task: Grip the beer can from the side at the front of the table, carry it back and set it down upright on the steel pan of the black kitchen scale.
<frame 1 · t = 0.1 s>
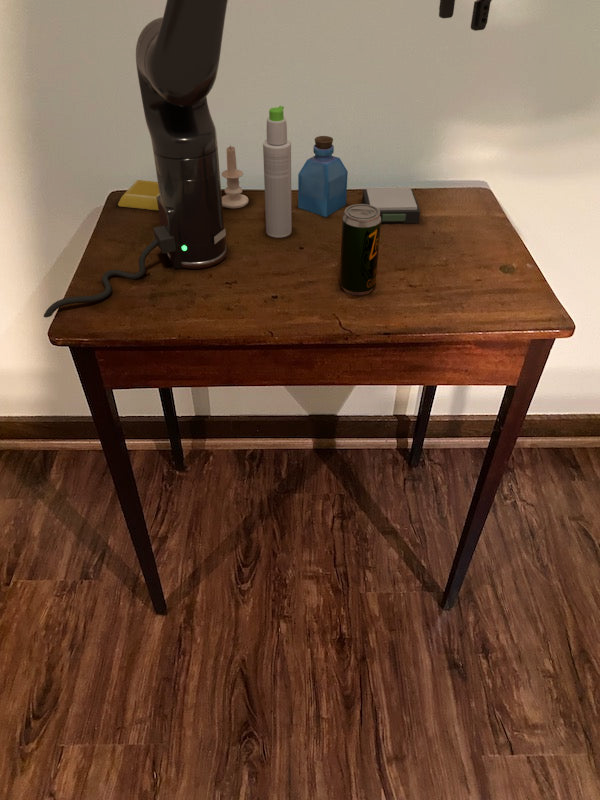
hand: (461, 23, 101), 29 cm above the table, tool pointing down, fingers open, 8 cm apart
kitchen scale: (389, 212, 118), on the table
yellow flat block: (146, 186, 121), point 2 cm above the table
beer can: (357, 288, 100), on the table
perfume bottle: (322, 207, 120), on the table
candle: (234, 203, 122), on the table
bottle: (278, 233, 113), on the table
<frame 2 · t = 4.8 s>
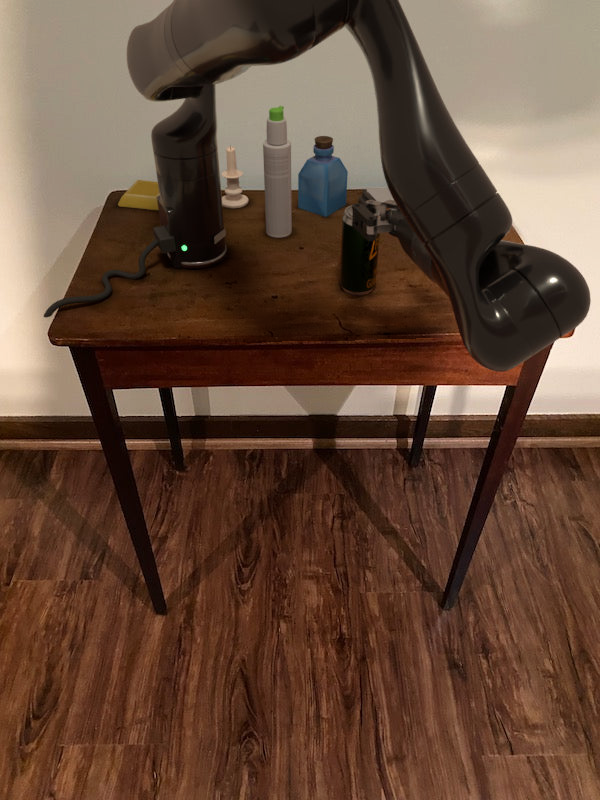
hand: (397, 196, 82), 18 cm above the table, tool horizontal, fingers open, 8 cm apart
nothing on the table moved.
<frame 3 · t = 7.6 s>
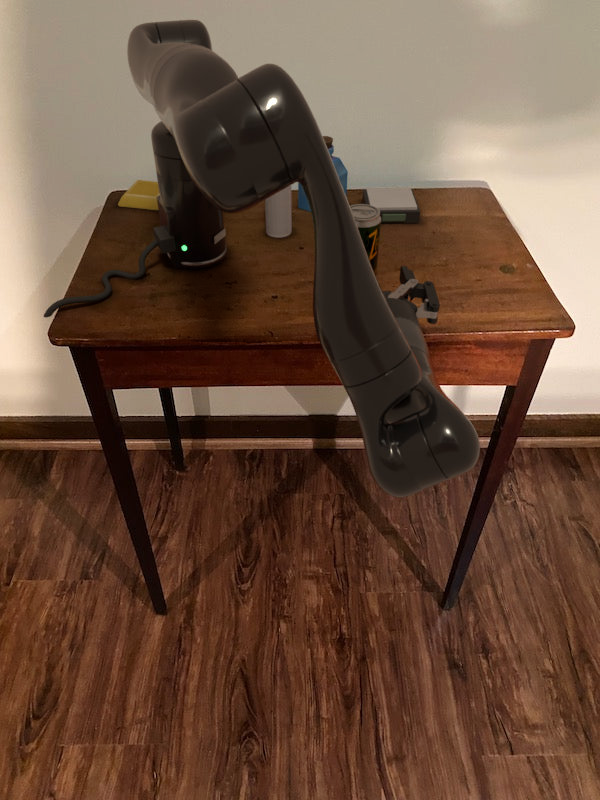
hand: (370, 273, 87), 8 cm above the table, tool horizontal, fingers open, 8 cm apart
nothing on the table moved.
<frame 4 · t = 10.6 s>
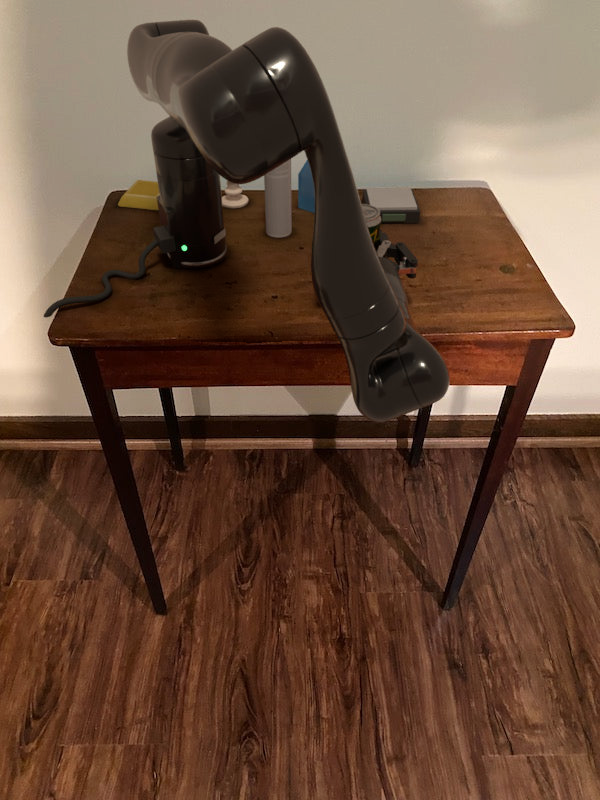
hand: (357, 236, 97), 7 cm above the table, tool horizontal, fingers closed on beer can, 5 cm apart
beer can: (357, 288, 100), on the table, touching gripper
everything else where it was.
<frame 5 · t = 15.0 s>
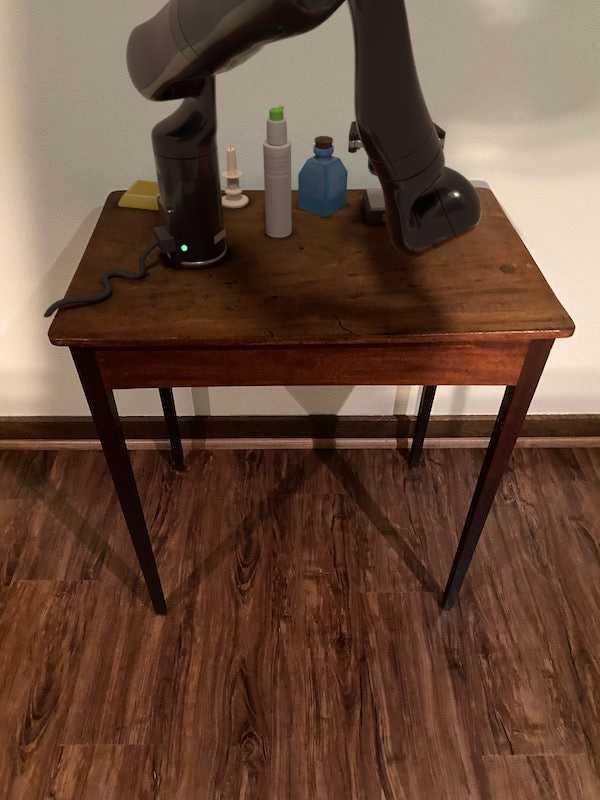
hand: (385, 119, 100), 19 cm above the table, tool horizontal, fingers closed on beer can, 5 cm apart
beer can: (384, 172, 103), point 12 cm above the table, touching gripper
everything else where it was.
when the fingers open (10 cm above the table, at t = 19.3 s): beer can stays where it is, resting on kitchen scale.
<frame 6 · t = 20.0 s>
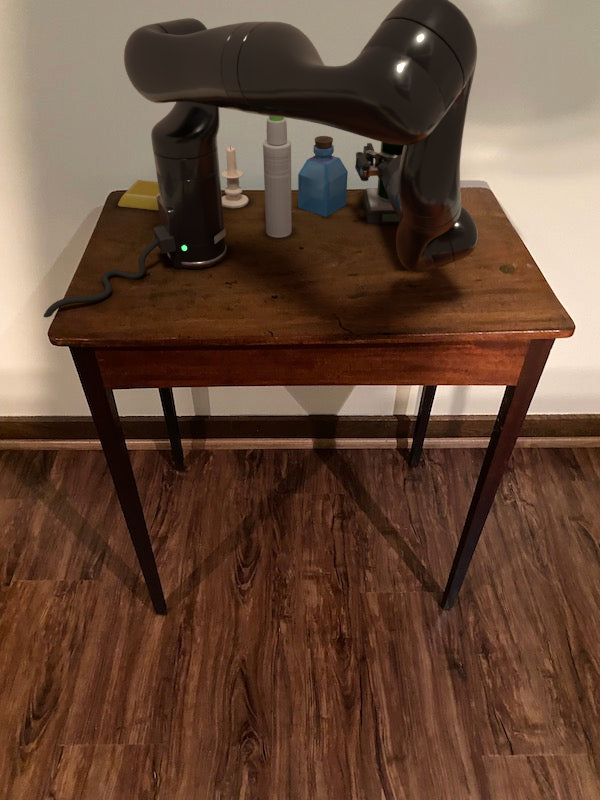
hand: (393, 148, 113), 11 cm above the table, tool horizontal, fingers open, 8 cm apart
beer can: (391, 198, 117), point 3 cm above the table, touching kitchen scale
everything else where it was.
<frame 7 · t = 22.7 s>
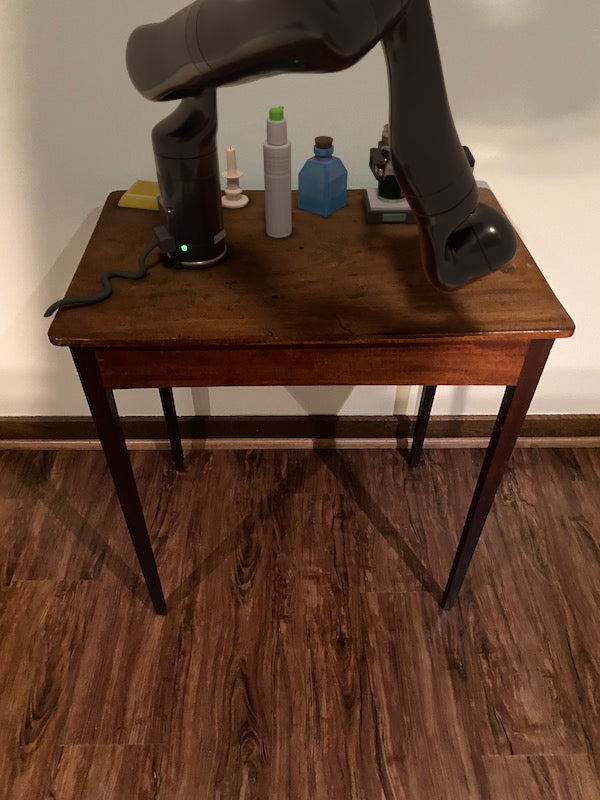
hand: (411, 143, 100), 16 cm above the table, tool horizontal, fingers open, 8 cm apart
nothing on the table moved.
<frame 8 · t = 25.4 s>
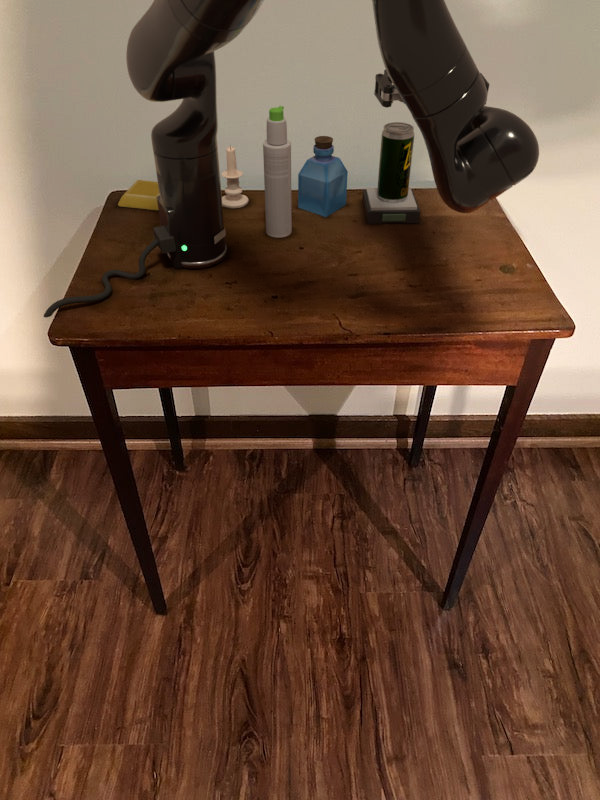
hand: (419, 73, 93), 26 cm above the table, tool horizontal, fingers open, 8 cm apart
nothing on the table moved.
at the end: beer can 0.2 cm off-centre on the kitchen scale, point 2.6 cm above the kitchen scale's base; beer can tilted 0°; the gripper is holding nothing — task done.
